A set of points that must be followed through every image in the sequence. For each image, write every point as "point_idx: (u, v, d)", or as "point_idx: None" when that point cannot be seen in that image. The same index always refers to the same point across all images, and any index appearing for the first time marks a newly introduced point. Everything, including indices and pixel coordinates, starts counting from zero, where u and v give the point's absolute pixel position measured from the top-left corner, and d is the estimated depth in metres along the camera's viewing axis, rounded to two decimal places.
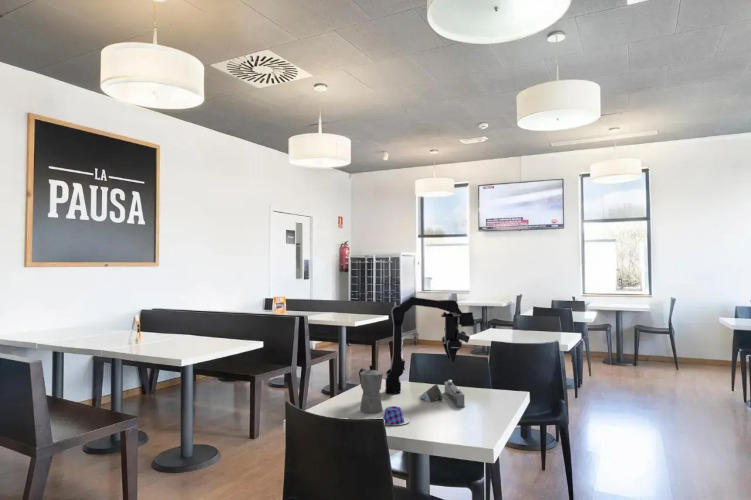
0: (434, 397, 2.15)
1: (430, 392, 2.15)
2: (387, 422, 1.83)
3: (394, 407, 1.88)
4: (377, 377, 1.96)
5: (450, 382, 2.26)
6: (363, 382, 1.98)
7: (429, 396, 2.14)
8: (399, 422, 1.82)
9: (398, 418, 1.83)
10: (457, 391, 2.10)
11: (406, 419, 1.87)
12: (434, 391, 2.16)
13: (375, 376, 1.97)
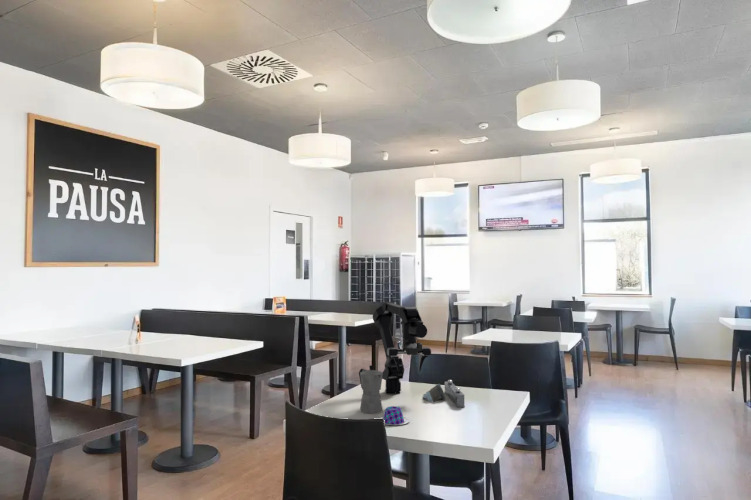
0: (437, 397, 2.16)
1: (433, 392, 2.16)
2: (387, 422, 1.83)
3: (394, 407, 1.88)
4: (377, 377, 1.96)
5: (450, 382, 2.26)
6: (363, 382, 1.98)
7: (432, 396, 2.15)
8: (399, 422, 1.82)
9: (398, 418, 1.83)
10: (457, 391, 2.10)
11: (406, 419, 1.87)
12: (436, 390, 2.17)
13: (375, 376, 1.97)
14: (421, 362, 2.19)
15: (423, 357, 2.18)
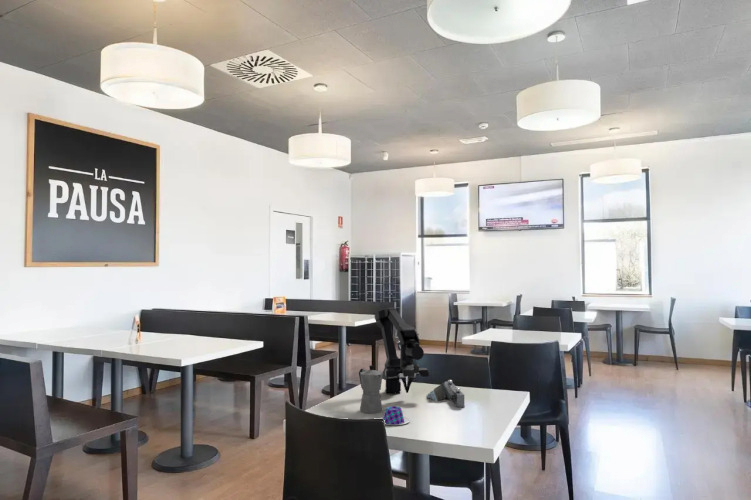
0: (441, 396, 2.17)
1: (437, 391, 2.17)
2: (387, 422, 1.83)
3: (394, 407, 1.88)
4: (377, 377, 1.96)
5: (450, 382, 2.26)
6: (363, 382, 1.98)
7: (436, 395, 2.16)
8: (399, 422, 1.83)
9: (398, 418, 1.83)
10: (457, 391, 2.10)
11: (406, 419, 1.88)
12: (441, 390, 2.18)
13: (375, 376, 1.97)
14: (409, 384, 2.17)
15: (411, 379, 2.16)
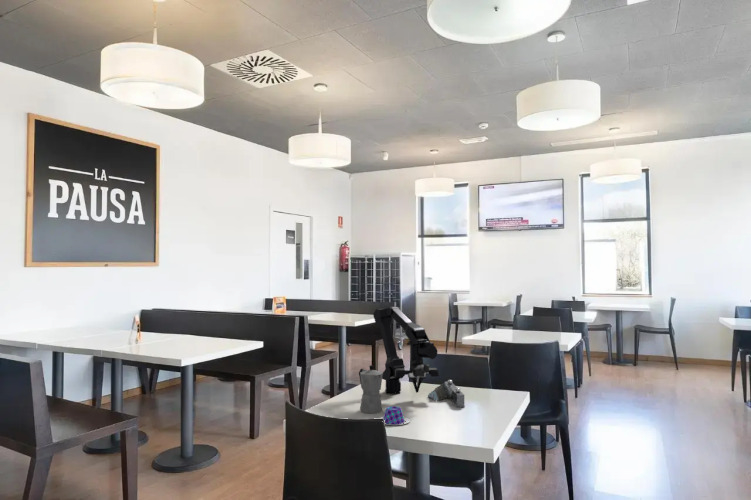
0: (442, 396, 2.18)
1: (438, 391, 2.18)
2: (388, 422, 1.83)
3: (394, 407, 1.88)
4: (377, 377, 1.96)
5: (450, 382, 2.26)
6: (363, 382, 1.98)
7: (437, 395, 2.17)
8: (400, 422, 1.83)
9: (399, 418, 1.83)
10: (457, 391, 2.10)
11: (406, 419, 1.88)
12: (442, 389, 2.19)
13: (375, 376, 1.97)
14: (419, 383, 2.18)
15: (420, 378, 2.16)
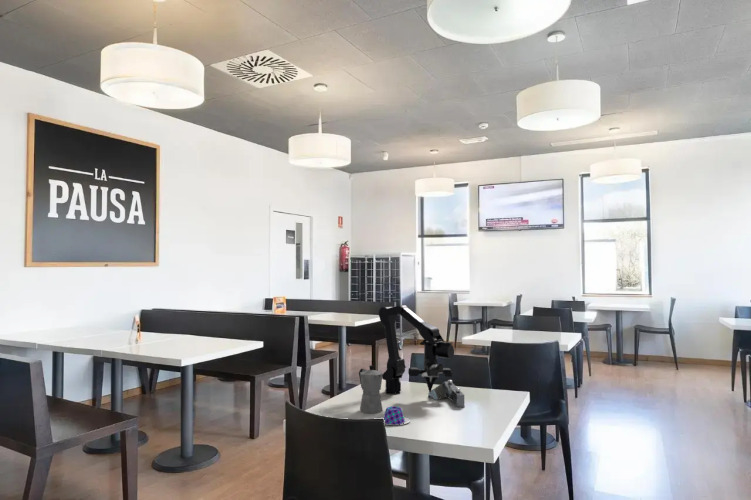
0: (442, 395, 2.18)
1: (438, 390, 2.19)
2: (388, 422, 1.83)
3: (394, 407, 1.88)
4: (377, 377, 1.96)
5: (450, 382, 2.26)
6: (363, 382, 1.98)
7: (437, 394, 2.18)
8: (400, 422, 1.83)
9: (399, 418, 1.83)
10: (457, 391, 2.10)
11: (406, 419, 1.88)
12: (441, 388, 2.19)
13: (375, 376, 1.97)
14: (432, 383, 2.18)
15: (434, 378, 2.17)
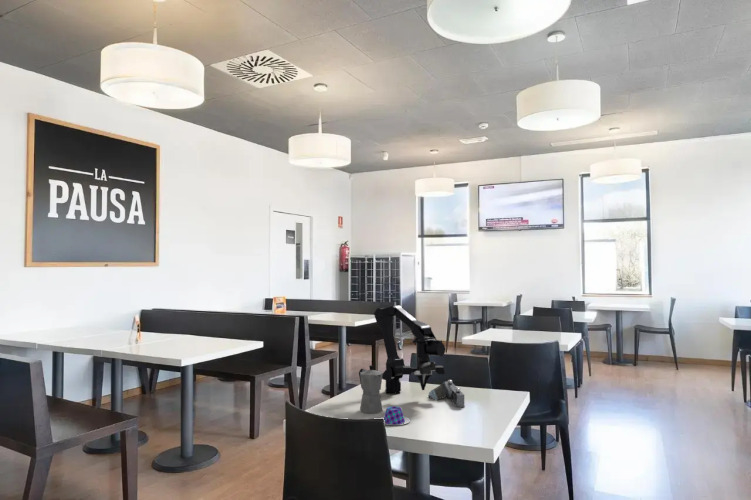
0: (441, 395, 2.19)
1: (437, 390, 2.19)
2: (389, 422, 1.82)
3: (394, 407, 1.88)
4: (377, 377, 1.96)
5: (450, 382, 2.26)
6: (363, 382, 1.98)
7: (436, 394, 2.18)
8: (401, 422, 1.83)
9: (400, 418, 1.83)
10: (457, 391, 2.10)
11: (406, 419, 1.88)
12: (441, 389, 2.20)
13: (375, 376, 1.97)
14: (425, 381, 2.18)
15: (427, 376, 2.17)
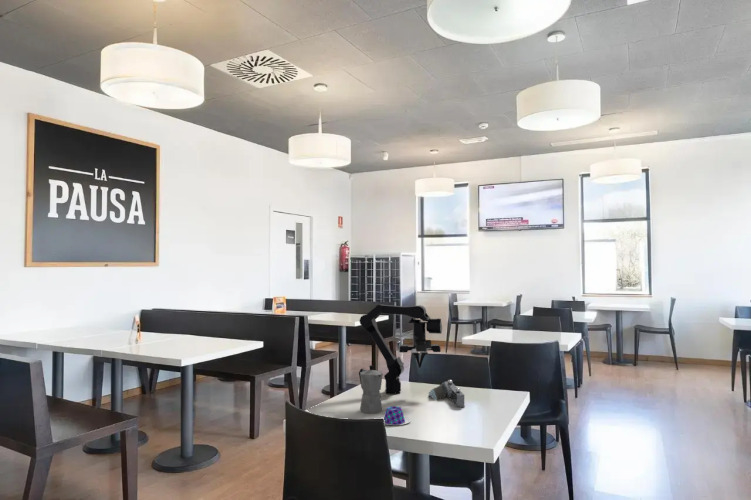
0: (441, 395, 2.19)
1: (437, 390, 2.20)
2: (389, 422, 1.82)
3: (394, 407, 1.88)
4: (377, 377, 1.96)
5: (450, 382, 2.26)
6: (363, 382, 1.98)
7: (436, 393, 2.19)
8: (401, 422, 1.83)
9: (400, 418, 1.83)
10: (457, 391, 2.10)
11: (406, 418, 1.88)
12: (441, 388, 2.20)
13: (375, 376, 1.97)
14: (421, 359, 2.28)
15: (423, 354, 2.27)
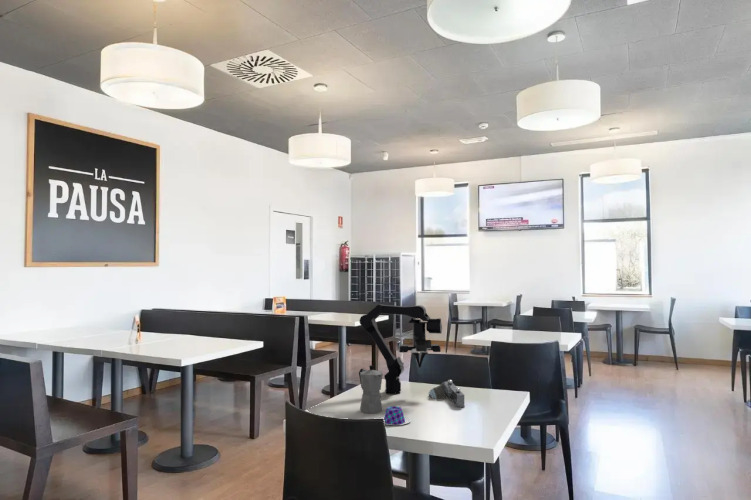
0: (441, 394, 2.20)
1: (437, 389, 2.20)
2: (389, 422, 1.82)
3: (394, 407, 1.88)
4: (377, 377, 1.96)
5: (450, 382, 2.26)
6: (363, 382, 1.98)
7: (436, 393, 2.20)
8: (401, 422, 1.83)
9: (400, 418, 1.83)
10: (457, 391, 2.10)
11: (406, 418, 1.88)
12: (441, 388, 2.21)
13: (375, 376, 1.97)
14: (421, 359, 2.28)
15: (423, 354, 2.27)
